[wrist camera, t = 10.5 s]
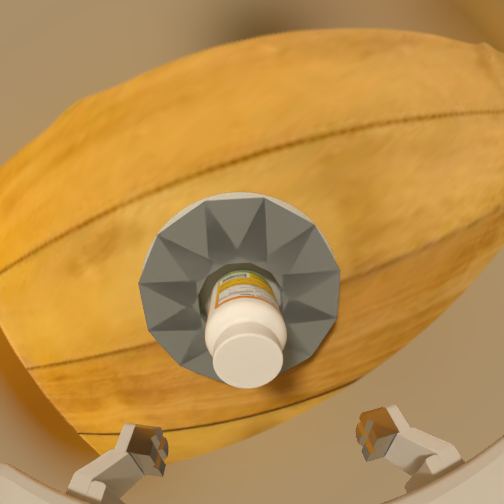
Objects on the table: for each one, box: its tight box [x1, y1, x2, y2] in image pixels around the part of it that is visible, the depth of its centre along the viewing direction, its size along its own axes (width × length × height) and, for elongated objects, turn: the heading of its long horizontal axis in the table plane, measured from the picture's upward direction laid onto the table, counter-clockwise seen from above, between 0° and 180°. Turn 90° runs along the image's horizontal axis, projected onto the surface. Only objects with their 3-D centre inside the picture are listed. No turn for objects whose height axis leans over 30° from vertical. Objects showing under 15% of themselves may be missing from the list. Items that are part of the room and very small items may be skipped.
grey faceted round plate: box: [138, 192, 340, 383], centre depth 23 cm, size 18×18×2 cm
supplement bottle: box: [205, 270, 287, 388], centre depth 19 cm, size 5×5×10 cm
